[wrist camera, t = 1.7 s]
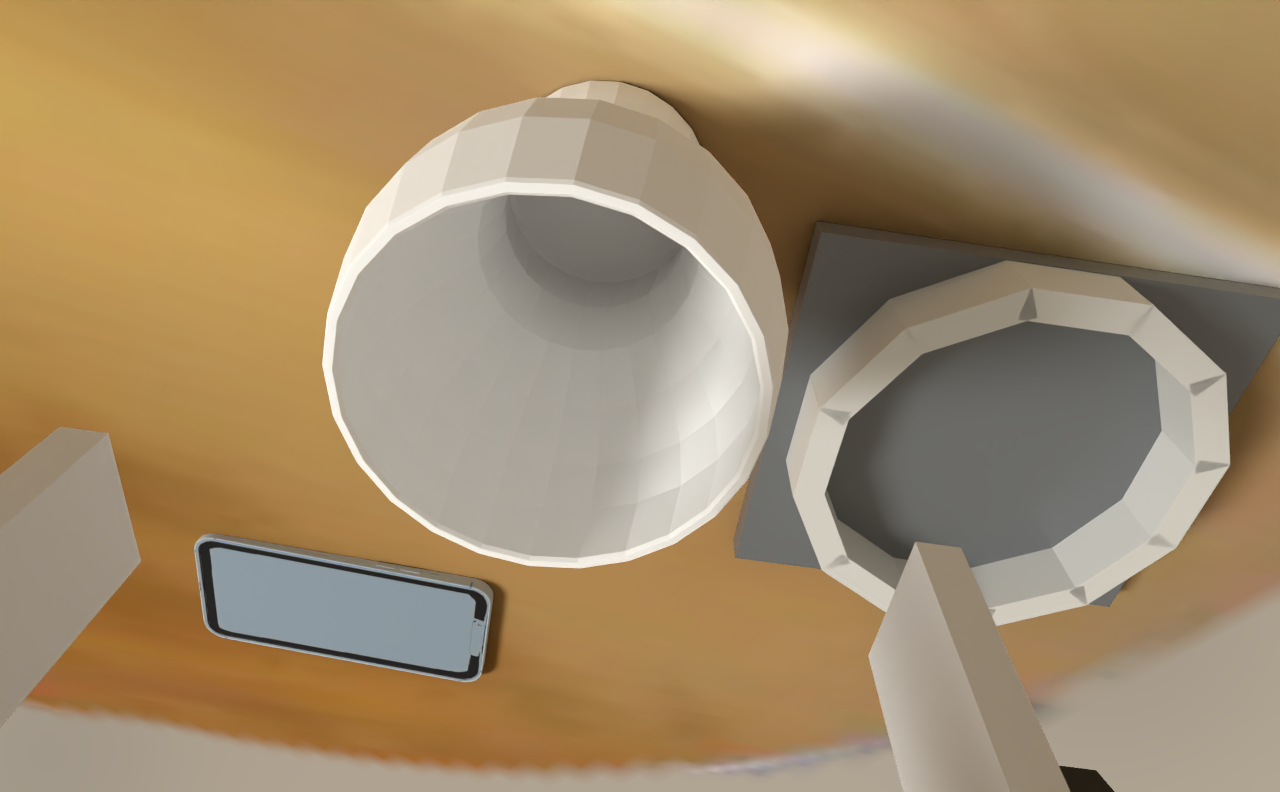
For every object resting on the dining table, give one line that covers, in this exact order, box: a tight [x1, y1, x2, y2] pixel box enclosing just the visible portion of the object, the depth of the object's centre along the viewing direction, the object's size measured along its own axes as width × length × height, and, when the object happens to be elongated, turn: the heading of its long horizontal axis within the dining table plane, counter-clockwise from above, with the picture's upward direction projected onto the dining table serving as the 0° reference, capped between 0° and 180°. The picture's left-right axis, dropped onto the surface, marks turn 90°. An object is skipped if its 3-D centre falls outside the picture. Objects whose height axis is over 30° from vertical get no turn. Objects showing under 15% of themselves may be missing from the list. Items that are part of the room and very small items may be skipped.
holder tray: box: [734, 221, 1280, 626], centre depth 33 cm, size 16×18×4 cm
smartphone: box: [194, 534, 493, 682], centre depth 42 cm, size 7×1×15 cm
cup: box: [322, 81, 789, 568], centre depth 23 cm, size 11×11×15 cm
